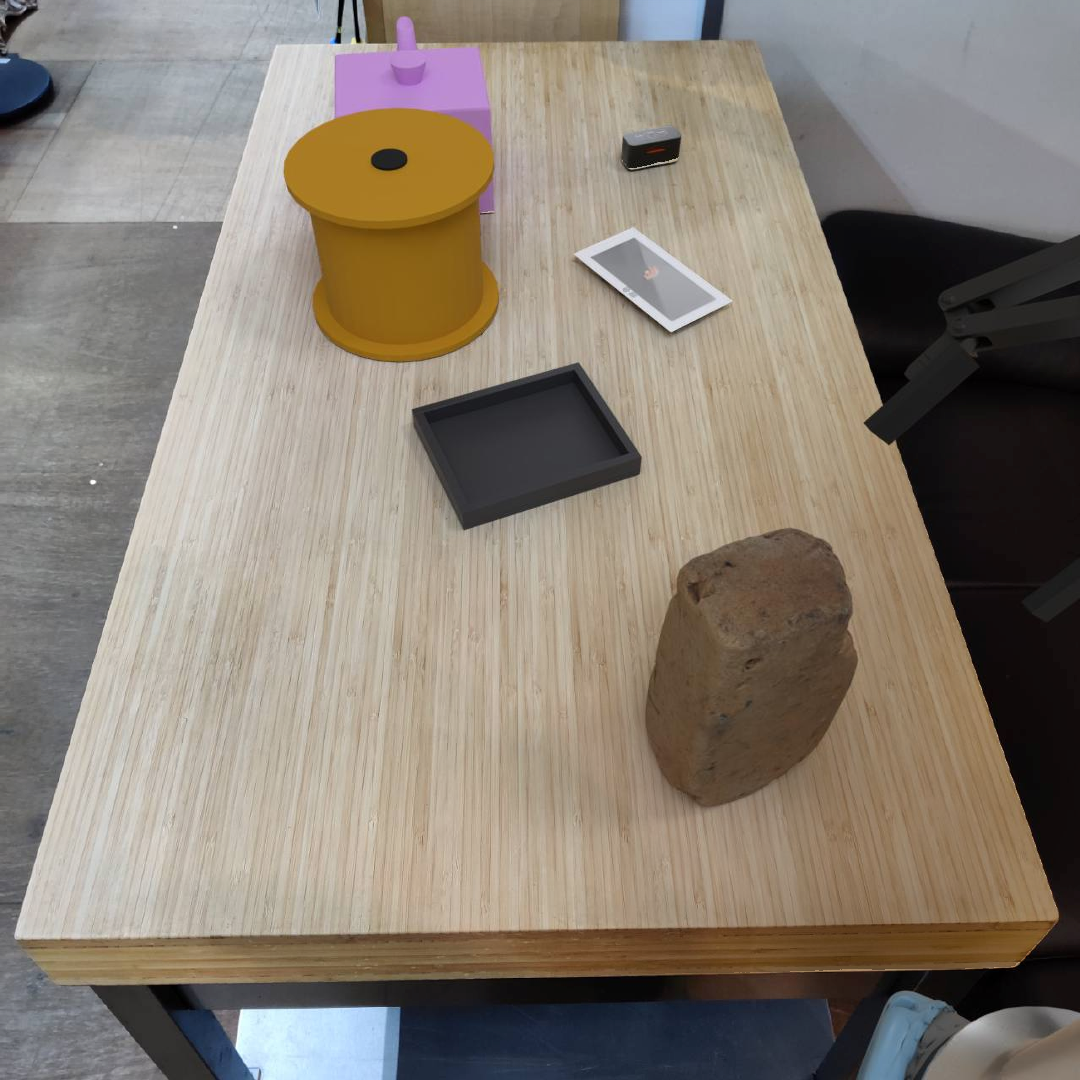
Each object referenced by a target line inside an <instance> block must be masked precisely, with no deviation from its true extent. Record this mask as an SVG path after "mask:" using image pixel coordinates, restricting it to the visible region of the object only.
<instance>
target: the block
mask: <svg viewBox="0 0 1080 1080" xmlns="http://www.w3.org/2000/svg"><path fill="white" fill-rule="evenodd" d="M676 590H677V592H676V593H675V594H674V595H673V596H672V597H671V599H669V601H668V607H667V609H666V611H665V616H664V619H663V622H662V623H663V624H661V625H662V626H661V629H660V633H659V637H658V643H657V648H656V652H655V659H654V665H653V668H652V670H651V673H650V677H649V680H648V688H647V693H646V699H645V700H646V701H645V711H644V719H645V720H644V721H645V722H644V723H645V729H646V733H647V736H648V739H649V742H650V745H651V748H652V749H651V750H652V751H653V754H654V756H655V758H656V761H657V763H658V765H659V768H660V770H661V772H662V773H663V775H664V777H665V778H666V779H667V781H668V783H669V784H670V785H671V786H672V787H673V788H675V789H677V790H679V791H681V792H683V793H684V794H685V795H686V796H688V797H689V798H690V799H691V800H692V801H694V802H695V803H697V804H698V805H701V806H707V807H714V806H719V805H723V804H727V803H729V802H730V803H731V802H733V801H735V800H738V799H740V798H745V797H747V796H750V795H752V794H753V793H755V792H757V791H759V790H760V789H762V788H764V787H767V786H768V785H769V784H770V783H771V782H772V781H774V780H775V779H777V778H779V777H783V775H784V774H786V773H787V772H789V771H790V770H791V769H792V768H794V766H796V764H798V763H801V762H802V761H804V760H805V759H807V758H808V756H810V754H811V753H812V752H813V751H814V750H815V749H816V748H817V747H818V745H819V744H820V743H821V741H822V739H823V738H824V737H825V735H826V733H828V730H829V728H830V727H831V725H832V722H833V721H834V718H835V717H836V715H837V714H838V711H839V709H840V707H841V705H842V703H843V701H844V699H845V698H846V696H847V693H848V691H849V689H850V687H851V685H852V683H853V680H854V677H855V674H856V670H857V667H858V663H859V657H858V651H857V650H856V648H855V646H854V639H853V636H852V633H851V632H850V630H849V629H848V628H849V624H850V620H851V618H852V615H853V613H854V607H853V596H852V592H851V589H850V587H849V585H848V584H847V576H846V573H845V569H844V567H843V565H842V563H841V560H840V559H839V557H838V555H837V554H836V553H834V549H833V546H832V544H831V543H830V542H829V541H827V540H826V539H824V538H821V537H817V536H815V535H813V534H811V533H808V532H806V531H804V530H801V529H799V528H794V527H786V528H785V527H784V528H780V529H779V528H778V529H774V530H771V531H768V532H765V533H762V534H759V535H755V536H748V537H746V538H743V539H740V540H739V539H738V540H735V541H733V542H730V543H727V544H724V545H721V546H720V547H718V548H716V549H713V550H712V551H709V552H707V553H703V554H700V555H697V556H695V557H693V558H691V559H690V560H689V561H688V562H686V563H685V564H684V565H683V566H681V568H679V571H678V574H677V577H676Z"/></svg>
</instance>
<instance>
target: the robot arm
mask: <svg viewBox="0 0 1080 1080" xmlns="http://www.w3.org/2000/svg"><path fill="white" fill-rule="evenodd" d="M1079 281H1080V233H1079V234H1078V235H1075V236H1073V237H1071V238H1068V239H1065V240H1063V241H1061V242H1058V243H1056V244H1054V245H1051V246H1049V247H1046V248H1043V249H1041V250H1039V251H1036V252H1034V253H1031V254H1029V255H1027V256H1024V257H1022V258H1020V259H1017V260H1015V261H1013V262H1010V263H1007V264H1005V265H1003V266H1000V267H997V268H996V269H993V270H990V271H988V272H985V273H983V274H981V275H978V276H975V277H974V278H971V279H968V280H966V281H964V282H961V283H959V284H957V285H954V286H952V287H950V288H947V289H945V290H944V291H942V292H941V293H940V294H939V296H938V299H937V304H938V306H939V307H940V309H941V310H942V312H943V315H944V318H945V320H946V324H947V325H946V329H945V331H944V333H943V334H942V335H941V336H940V337H938V339H937V340H936V341H935V342H933V343H932V344H931V345H930V346H929V347H928V348H926V350H925V351H923V353H921V354H920V355H919V356H918V357H917V358H916V359H914V361H913V362H911V363H910V364H908V367H906V369H905V372H904V373H903V374H904V376H905V377H906V378H907V379H908V380H909V381H908V382H907V383H906V384H905V385H903V386H902V387H901V388H900V389H899V390H898V391H896V392H895V394H893V395H892V396H891V397H890V398H889V399H887V401H886V402H885V403H883V404H882V405H881V406H880V407H879V408H878V409H877V410H876V411H874V412H873V413H872V414H871V415H870V416H869V417H868V418H867V419H866V420H865V421H864V422H863V425H864V426H865V427H866V428H867V429H868V430H869V431H870V433H872V434H873V435H875V436H876V437H877V438H878V439H880V440H881V441H883V442H884V443H885V444H886V445H887V446H891V445H892V444H893V443H894V442H896V440H898V439H899V438H900V437H901V436H902V435H903V434H904V433H906V431H908V430H909V429H910V428H911V427H913V425H915V424H916V423H917V422H918V421H919V420H920V419H922V418H923V417H924V416H925V415H926V414H927V413H928V412H930V410H932V409H933V408H934V407H935V406H936V405H937V404H939V403H940V402H941V401H942V400H943V399H945V398H946V397H947V396H948V395H949V394H950V393H951V392H952V391H953V390H955V389H956V388H957V387H959V386H960V385H961V383H963V382H964V381H965V380H966V379H967V378H969V376H970V375H972V374H973V373H974V372H975V371H976V370H978V369H979V368H980V365H979V364H978V362H977V361H976V360H975V359H974V358H978V357H979V355H978V353H979V352H985V351H993V350H999V349H1005V348H1012V347H1018V346H1024V345H1025V346H1026V345H1032V344H1037V343H1045V342H1051V341H1058V340H1064V339H1071V338H1077V337H1080V294H1078V295H1073V296H1072V295H1070V296H1066V297H1061V298H1055V299H1049V300H1043V301H1039V302H1031V303H1027V304H1022V303H1025V302H1028V301H1030V300H1031V299H1032V300H1033V299H1035V298H1037V297H1040V296H1042V295H1045V294H1048V293H1050V292H1053V291H1055V290H1058V289H1060V288H1063V287H1066V286H1069V285H1071V284H1073V283H1076V282H1079ZM1020 304H1022V305H1020ZM1079 599H1080V557H1079V558H1078V559H1077V558H1076V560H1074V561H1073V562H1072V563H1070V564H1069V565H1068V566H1066V567H1065V568H1064V569H1063V570H1061V571H1060V572H1059V573H1057V574H1055V576H1053V577H1052V578H1050V579H1049V580H1048V581H1046V582H1045V583H1044V584H1042V586H1040V587H1039V588H1037V589H1036V590H1035V591H1033V592H1032V593H1031V594H1029V595H1028V596H1027V597H1025V598H1024V599H1023V600H1021V601H1020V603H1021V604H1022V605H1023V606H1024V607H1025V608H1026V609H1027V610H1028V612H1029V613H1030V614H1031V615H1033V616H1035V617H1036V618H1038V619H1039V620H1041V621H1043V622H1044V623H1048V622H1049V621H1050V620H1052V619H1054V618H1055V617H1056V616H1058V615H1059V614H1060V613H1062V612H1063V611H1065V610H1066V609H1067V608H1068V607H1070V606H1072V604H1074V603H1075V602H1076V601H1078V600H1079ZM855 1080H1080V1012H1078V1011H1074V1010H1070V1009H1066V1008H1059V1007H1051V1006H1030V1005H1029V1006H1028V1005H1027V1006H1016V1007H1008V1008H1007V1007H1006V1008H1003V1009H1000V1010H996V1011H993V1012H990V1013H987V1014H985V1015H983V1016H981V1017H979V1018H976V1019H975V1020H973V1021H970V1020H969V1019H966V1018H965V1017H963V1016H961V1015H959V1014H958V1013H957V1011H956V1010H955V1009H954V1007H953V1005H949V1004H947V1002H946V1001H942V1000H941V999H935V1000H934V999H933V998H931V997H928V996H925V995H923V994H921V993H918V992H916V991H912V990H901V991H897V992H895V993H893V994H892V995H891V996H889V998H888V999H887V1001H886V1003H885V1005H884V1007H883V1010H882V1012H881V1014H880V1016H879V1018H878V1021H877V1023H876V1026H875V1029H874V1030H873V1034H872V1037H871V1038H870V1041H869V1044H868V1047H867V1049H866V1052H865V1053H864V1057H863V1059H862V1062H861V1065H860V1067H859V1069H858V1073H857V1075H856V1078H855Z"/></svg>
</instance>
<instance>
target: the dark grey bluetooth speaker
mask: <svg viewBox="0 0 1080 1080" xmlns="http://www.w3.org/2000/svg"><path fill="white" fill-rule="evenodd" d="M621 142H622V143H621V153H620V154H621V156H620V160H621V159H622V160H623V162H624V163H625V164H626V166H627V167H628V168H637V167H642V166H647V165H651V164H654V163H657V162H665V161H669V160H672V159H676V158H678V157H679V158H680V153H681V152H680V151H681V150H680V149H681V144H682V143H681V142H682V133H681V132H680V131H679V130H678V128H676V126H674V125H665V126H659V127H652V128H649V129H647V128H646V129H641V130H636V131H631V132H626V133H625V132H624V133H623V135H622V141H621ZM622 160H621V161H622ZM623 162H622V163H623ZM624 163H623V164H624ZM626 166H625V167H626ZM627 167H626V168H627Z"/></svg>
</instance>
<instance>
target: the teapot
mask: <svg viewBox="0 0 1080 1080" xmlns="http://www.w3.org/2000/svg"><path fill="white" fill-rule="evenodd" d="M416 39H417V38H416V35H415V26H414V23H413V20H412V19H411V18H410V17H409V16H406V15H405V16H400V17H399V18H398V19H397V21H396V50H391V51H390V50H387V51H375V52H374V51H371V52H356V53H355V52H354V53H340V54H339V53H337V54H335V55H334V118H333V119H336V118H338V117H341V116H345V115H349V114H353V113H356V112H361V111H368V110H374V109H386V108H410V109H421V110H428V111H434V112H438V113H442V114H445V115H449V116H452V117H454V118H457V119H459V120H461V121H464V122H466V123H468V124H469V125H471V126H472V127H474V128H475V129H477V130H478V131H479V132H480V133H481V134H482V135H483V136H484V137H485V138H486V139H487V140H488V142H489V144H490V146H491V148H492V149H493V141H492V140H493V137H492V111H491V104H490V100H489V95H488V89H487V84H486V77H485V73H484V67H483V63H482V62H483V61H482V57H481V52H480V48H479V47H478V46H464V47H463V46H462V47H446V48H445V47H443V48H428V49H427V48H426V49H425V48H423V49H419V48H418V44H417V41H416ZM494 194H495V193H494V177H493V178H492V181H491V182H490V184H489V186H488V187H487V189H486V191H485V192H484V193H483V194H482V195H481V196H480V197H479V213H482V212H488V211H494V212H495V196H494Z"/></svg>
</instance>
